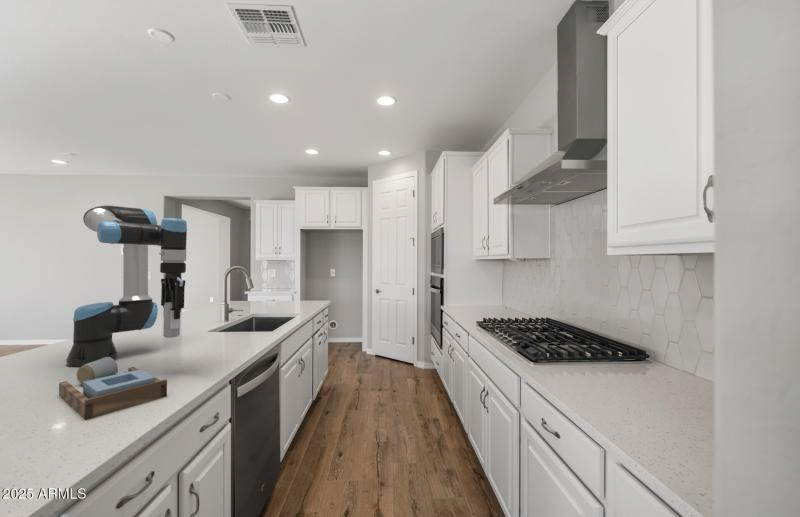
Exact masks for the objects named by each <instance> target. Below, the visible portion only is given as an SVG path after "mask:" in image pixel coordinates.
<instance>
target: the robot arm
mask: <svg viewBox="0 0 800 517" xmlns="http://www.w3.org/2000/svg"><path fill="white" fill-rule="evenodd" d="M82 218H83V223H84V225H85V226H86V227H87V229H89V230H91V231H93V232H96V234H97V241H99V242H100V243H102V244H111V245H116V244H117V245H118V244H119V245H122V246H123V249H122V250H123V260H122V261H123V263H122V264H123V272H122V275H123V278H122V280H123V281H122V284H123V288H122V289H123V291H122V292H123V295H122V297H121V298H120V299H119V300H118V304H115V305H114V303H113V302H111V301H107V302H105V301H104V302H96V303H90V304H86V305H82V306H79V307H77V308H76V309H75V310H74V313H73V314H74V315H73V318H72V321H73V339H72V342H73V343H72V347H71V349H70V351H69V353H68V355H67V358H66V361H65V362H66V364H65V365H66V366H67V367H70V366H72V367H71V368H74V367H77V368H80V366H83V365H85V364H88V363H90V362H94V361H96V360H99V359H102V358H105V357H111V358H113V359H114V360H115V361H116V360H117V359H118V350H117V349H116V346H115V344H114V341H113V334H115V333H125V332H132V331H141V330H146V329H147V330H148V329H150V328H152V327H153V326H154V325H155V323H156V322H157V317H158V311H159V310H158V304H157V303H156V302H154V301H153V298H152V297H151V296H150V295H149V246H157V247H160V252H159V253H158V255H159V256H160V261H162V262H161V263H159V264H160V265H159V268H160V269H159V272H160V273H161V274H165V276H164V278H161V279H160V283H161V288H160V289H161V291H160V292H161V293H160V294H161V295H160V297H161V298H160V306H161V307H162V308H163V309H164V305H165V303H166V302H172V309H170V310H171V329H176V328H180V329H181V312H182V311H181V310H182V309H184V308H185V286H186V280H185V279H183V280H182V275H181V274H185V273H186V272H187V269H186V268H187V263H186V261H187V241H188V240H187V232H188V225H187V221H186V220H185V219H182V218H175V217H164V218H162V219H161V222H160V224H158V221H157V217H156V215H155V213H154V212H153V211H152V210H149V209H146V208H145V209H143V208H138V207H128V206H126V207H125V206H117V205H99V206H95V207H92V208H90V209H88V210H87V211H85V213H84V215H83V217H82Z"/></svg>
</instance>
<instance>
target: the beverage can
mask: <svg viewBox="0 0 800 517" xmlns="http://www.w3.org/2000/svg"><path fill="white" fill-rule="evenodd" d="M170 309H172V302H166V303H165V305H164V308H163V328H162V329H163V334H162V336H163V337H164V338H166V339H169V338H176V337H179V335H181V334H180V333H181V327H180V328H176V329H171V310H170Z"/></svg>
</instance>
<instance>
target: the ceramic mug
mask: <svg viewBox="0 0 800 517" xmlns="http://www.w3.org/2000/svg"><path fill="white" fill-rule="evenodd" d="M118 371H119V366H118V363H117V362H116V359H115V360H114V359H113V358H111V357H105V358H102V359H99V360H96V361H94V362H90V363H88V364H85V365H83V366H81V367H78V370H77V373H76V378H77V381H78V382H79V383H80V385H81V386H83V382H84V381H89V380H94V379H98V378H103V377H107V376H112V375H116V374H118V373H119V372H118Z"/></svg>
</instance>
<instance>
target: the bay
mask: <svg viewBox="0 0 800 517" xmlns="http://www.w3.org/2000/svg"><path fill="white" fill-rule="evenodd" d="M127 370H128V371H127V372H130V371H135V370H140V369H138V368H136V367H135V366H132V367H128V368H127ZM58 383H59V384H58V396H59V397H60V398H61V399H62V400H63V401H64V402H65V403H66V404H68V406H69V407H70V408H72V409H73V411H75V412H76V413H77V414H78V415H79V416H80V417H81V418H83V419H84V420H85V421H87V420H90V419H93V418H97V417H100V416H103V415H107V414H110V413H114V412H118V411H121V410H124V409H128V408H131V407H134V406H138V405H142V404H145V403H149V402H151V401H154V400H159V399H162V398H166V397H167V394H168V379H162V380H161V379H159V378H157V377H155V382H153V383H149V384H145V385H141V386H137V387H133V388H129V389H125V390H121V391H117V392H114V393H110V394H106V395H102V396H98V397H94V398H90V399H88V398H87V397H86V396H84V395H83V392H81V391H80V390H78V389H77V388H76V387H74V386H73V385H72V384H71V383H70V382H68V381H67V380H66V381H61V382H58Z"/></svg>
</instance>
